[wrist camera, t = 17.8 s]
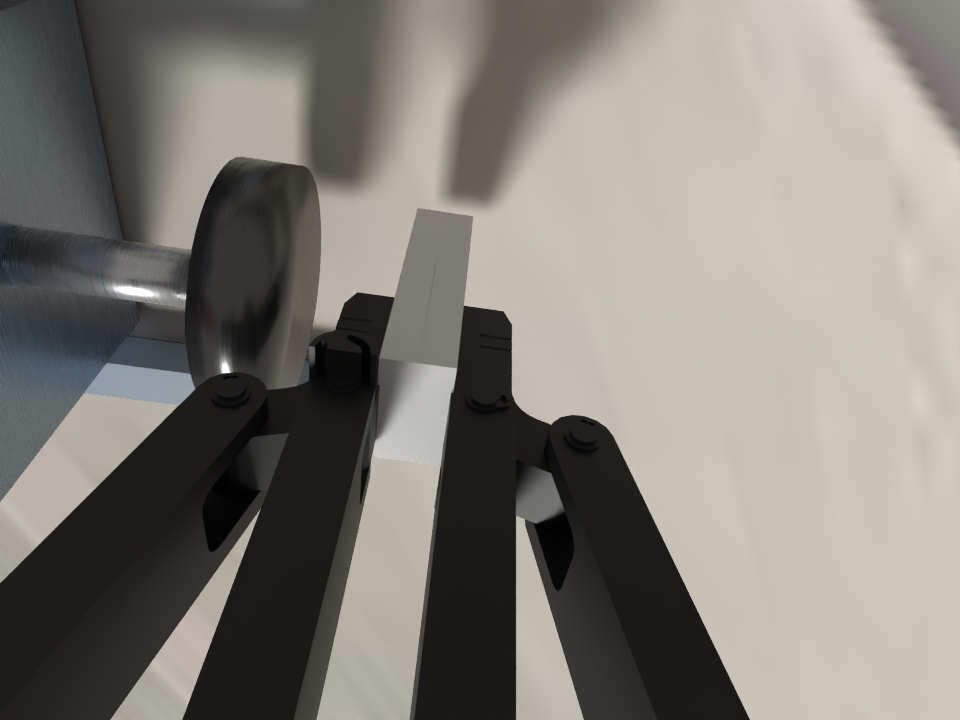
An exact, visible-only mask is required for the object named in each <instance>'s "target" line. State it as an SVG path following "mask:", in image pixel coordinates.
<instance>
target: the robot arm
mask: <svg viewBox="0 0 960 720" xmlns="http://www.w3.org/2000/svg"><path fill="white" fill-rule="evenodd" d="M472 223H473V216H467V215H460V214H453V213H447V212H440V211H433V210H426V209H420V208H418V209H417V213H416V217H415V221H414V225H413V228H412V232H411V236H410V240H409V244H408V248H407V252H406V256H405V260H404V263H403V267H402V271H401V275H400V279H399V283H398V287H397V291H396V295H395V298H394V297H387V296H380V295H372V294H365V293H358V292H357V293H356V294H355V295H354V296H353V297H351V298H350V299H349V300H348V301H347V302H345V303H344V306H343V309H342V312H341V314H340V319H339V320H338V323H337V326H336V330H335V331H332V332H328V333H324V334H322V335H320V336H318V337H316V338H315V339H314V340H313V341H312V342H311V344H310V345H309V381H307V382H305V383H303V384H300V385H297V386H294V387H288V388H281V389H270V390H267V389H266V386H265V384H264V383H263V382H262V381H261V380H260V379H259V378H257V377H255V376H253V375H251V374H247V373H240V372H230V373H222V374H219V375H216V376H213V377H210V378H209V379H207V380H206V381H204V382H203V383H201V384H200V385H199V386H198V387H197V388H196V389H195V390H194V391H193V392H192V393H191V394H190V395H189V396H188V397H187V398H186V399H185V400H184V401H183V402H182V403H181V404H180V405H179V406H178V407H177V408H176V409H175V410H174V411H173V412H172V413H171V414H170V415H169V416H168V417H167V418H166V419H165V420H164V421H163V422H162V423H161V424H160V425H159V426H158V427H157V428H156V429H155V430H154V431H153V432H152V433H151V434H150V435H149V436H148V437H147V438H146V439H145V440H144V441H143V442H142V443H141V444H140V445H139V446H138V447H137V448H136V449H135V450H134V451H133V452H132V453H131V454H130V455H129V456H128V457H127V458H126V459H125V460H124V461H123V462H122V463H121V464H120V465H119V466H118V467H117V468H116V469H115V470H114V471H113V472H112V473H111V474H110V475H109V476H108V477H107V478H106V479H105V480H104V481H103V482H102V483H101V484H100V485H99V486H98V487H97V488H96V489H95V490H94V491H93V492H92V493H91V494H90V495H89V496H88V497H87V498H86V499H84V500H83V501H82V502H81V503H80V504H79V505H78V506H77V507H76V508H75V509H74V510H73V511H72V512H71V513H70V514H69V515H68V516H67V517H66V518H65V519H64V520H63V521H62V522H61V523H60V524H59V525H58V526H57V527H56V528H55V529H54V530H53V531H52V532H51V533H50V534H49V535H48V536H47V537H46V538H45V539H44V540H43V541H42V542H41V543H40V544H39V545H38V546H37V547H36V548H35V549H34V550H33V551H32V552H31V553H30V554H29V555H28V556H27V557H26V558H25V559H24V560H23V561H22V562H21V563H20V564H19V565H18V566H17V567H16V568H15V569H14V570H13V571H12V572H11V573H10V574H9V575H8V576H7V577H6V578H5V579H4V580H3V581H2V582H1V583H0V720H110V719H111V718H112V716H113V715H114V714H115V712H116V711H117V709H118V708H119V707H120V705H121V704H122V702H123V701H124V700H125V698H126V697H127V695H128V694H129V693H130V691H131V690H132V688H133V687H134V686H135V684H136V683H137V681H138V680H139V678H140V677H141V676H142V674H143V673H144V671H145V670H146V669H147V667H148V666H149V664H150V663H151V662H152V660H153V659H154V657H155V656H156V655H157V653H158V652H159V650H160V649H161V648H162V646H163V645H164V643H165V642H166V641H167V639H168V638H169V636H170V635H171V634H172V632H173V631H174V629H175V628H176V627H177V625H178V624H179V622H180V621H181V620H182V618H183V617H184V615H185V614H186V613H187V611H188V610H189V608H190V607H191V606H192V604H193V603H194V601H195V600H196V599H197V597H198V596H199V594H200V593H201V592H202V590H203V589H204V587H205V586H206V584H207V583H208V582H209V580H210V579H211V577H212V576H213V575H214V573H215V572H216V570H217V569H218V568H219V566H220V565H221V563H222V562H223V561H224V559H225V558H226V556H227V555H228V554H229V552H230V551H231V549H232V548H233V547H234V545H235V544H236V542H237V541H238V540H239V538H240V537H241V535H242V534H243V533H244V531H245V530H246V528H247V527H248V526H249V524H250V523H251V521H252V520H253V519H254V517H255V516H256V514H257V513H258V512H259V510H260V509H261V510H260V513H259V515H258V518H257V521H256V523H255V526H254V529H253V531H252V534H251V537H250V539H249V542H248V545H247V548H246V550H245V553H244V556H243V558H242V561H241V564H240V566H239V569H238V572H237V574H236V577H235V580H234V583H233V585H232V588H231V591H230V593H229V596H228V599H227V601H226V604H225V607H224V609H223V612H222V615H221V618H220V620H219V623H218V626H217V628H216V631H215V634H214V636H213V639H212V642H211V644H210V647H209V650H208V653H207V655H206V658H205V661H204V663H203V666H202V669H201V671H200V674H199V677H198V679H197V682H196V685H195V687H194V690H193V693H192V696H191V698H190V701H189V704H188V706H187V709H186V712H185V714H184V717H183V720H316V719H317V714H318V710H319V705H320V701H321V696H322V692H323V687H324V683H325V678H326V673H327V669H328V664H329V660H330V655H331V651H332V646H333V642H334V637H335V633H336V628H337V624H338V619H339V614H340V610H341V605H342V601H343V596H344V592H345V587H346V583H347V578H348V574H349V569H350V565H351V560H352V555H353V551H354V546H355V542H356V537H357V533H358V528H359V524H360V519H361V515H362V510H363V506H364V501H365V496H366V492H367V487H368V483H369V478H370V467H371V457H372V453H373V457H377V458H385V459H393V460H401V461H409V462H416V463H424V464H432V465H440V466H441V468H440V474H439V481H438V487H437V494H436V501H435V507H434V508H435V513H434V522H433V530H432V538H431V547H430V555H429V563H428V571H427V580H426V588H425V596H424V605H423V613H422V621H421V630H420V638H419V646H418V655H417V663H416V671H415V680H414V688H413V696H412V705H411V713H410V720H516V516H519V517H521V518H524V519H525V526H526V529H527V532H528V536H529V539H530V542H531V546H532V549H533V552H534V556H535V559H536V562H537V566H538V569H539V572H540V575H541V579H542V582H543V585H544V589H545V592H546V595H547V599H548V602H549V605H550V609H551V612H552V615H553V618H554V622H555V625H556V628H557V632H558V635H559V638H560V642H561V645H562V648H563V652H564V655H565V658H566V662H567V665H568V668H569V671H570V675H571V678H572V681H573V685H574V688H575V691H576V695H577V698H578V701H579V705H580V708H581V711H582V714H583V718H584V720H750V719H749V717H748V715H747V713H746V711H745V709H744V707H743V705H742V702H741V700H740V698H739V696H738V694H737V692H736V690H735V688H734V686H733V684H732V682H731V680H730V678H729V675H728V673H727V671H726V669H725V667H724V665H723V663H722V661H721V659H720V657H719V655H718V653H717V651H716V649H715V646H714V644H713V642H712V640H711V638H710V636H709V634H708V632H707V630H706V628H705V626H704V624H703V622H702V619H701V617H700V615H699V613H698V611H697V609H696V607H695V605H694V603H693V601H692V599H691V597H690V595H689V592H688V590H687V588H686V586H685V584H684V582H683V580H682V578H681V576H680V574H679V572H678V570H677V568H676V566H675V563H674V561H673V559H672V557H671V555H670V553H669V551H668V549H667V547H666V545H665V543H664V541H663V539H662V536H661V534H660V532H659V530H658V528H657V526H656V524H655V522H654V520H653V518H652V516H651V514H650V512H649V510H648V507H647V505H646V503H645V501H644V499H643V497H642V495H641V493H640V491H639V489H638V487H637V485H636V483H635V480H634V478H633V476H632V474H631V472H630V470H629V468H628V466H627V464H626V462H625V460H624V458H623V456H622V454H621V451H620V449H619V447H618V445H617V443H616V441H615V439H614V437H613V436H612V434H611V433H610V432H609V430H608V429H607V428H606V427H605V426H603V425H602V424H600V423H599V422H598V421H596V420H593V419H590V418H588V417H585V416H576V415H570V416H565V417H561V418H559V419H558V420H556V421H555V422H553V424H552V425H550V424H548V423H545V422H542V421H540V420H537V419H535V418H533V417H531V416H529V415H528V414H526V413H525V412H524V411H522V410H521V409H520V408H519V407H518V405H517V404H516V403H515V401H514V397H513V396H512V352H511V351H512V341H511V340H512V324H511V323H510V321H509V320H508V318H507V316H506V315H505V313H504V312H503V311H497V310H490V309H483V308H476V307H468V306H464V298H465V289H466V279H467V270H468V260H469V251H470V242H471V232H472Z"/></svg>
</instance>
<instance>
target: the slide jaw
mask: <svg viewBox="0 0 960 720" xmlns="http://www.w3.org/2000/svg"><path fill="white" fill-rule="evenodd" d="M320 256H321V219H320V206H319V198H318V192H317V188H316V184H315V181H314V178H313V175H312V173H311V172H310V170H309V169H308V168H307V167H304V166H300V165H293V164H286V163H280V162H273V161H266V160H260V159H253V158H246V157H236V158H234V159H232V160H230V161H229V162H228V163H227V164H226V165H225V166H224V167H223V168H222V170H221V171H220V172H219V174H218V175H217V177H216V179H215V180H214V182H213V184H212V186H211V188H210V190H209V193H208V195H207V197H206V200H205V203H204V206H203V208H202V211H201V214H200V218H199V221H198V225H197V229H196V232H195V237H194V242H193V246H192V250H189V249H182V248H175V247H168V246H161V245H154V244H147V243H139V242H132V241H125V240H123V237H122V232H121V228H120V223H119V218H118V213H117V208H116V203H115V198H114V193H113V189H112V184H111V179H110V174H109V169H108V164H107V159H106V154H105V150H104V145H103V140H102V135H101V130H100V125H99V120H98V115H97V111H96V106H95V101H94V96H93V91H92V86H91V81H90V76H89V72H88V67H87V62H86V57H85V52H84V47H83V42H82V37H81V33H80V28H79V23H78V18H77V13H76V8H75V3H74V0H0V502H1V500H2V499H3V498H4V497H5V495H6V494H7V493H8V491H9V490H10V489H11V487H12V486H13V485H14V483H15V482H16V481H17V480H18V478H19V477H20V476H21V474H22V473H23V472H24V470H25V469H26V468H27V467H28V465H29V464H30V463H31V461H32V460H33V459H34V457H35V456H36V455H37V453H38V452H39V451H40V450H41V448H42V447H43V446H44V444H45V443H46V442H47V440H48V439H49V438H50V437H51V435H52V434H53V433H54V431H55V430H56V429H57V427H58V426H59V425H60V424H61V422H62V421H63V420H64V418H65V417H66V416H67V414H68V413H69V412H70V410H71V409H72V408H73V407H74V405H75V404H76V403H77V401H78V400H79V399H80V397H81V396H82V395H83V394H84V392H85V391H86V390H87V388H88V387H89V386H90V384H91V383H92V382H93V380H94V379H95V378H96V377H97V375H98V374H99V373H100V371H101V370H102V369H103V367H104V366H105V365H106V364H107V362H108V361H109V360H110V358H111V357H112V356H113V354H114V353H115V352H116V351H117V349H118V348H119V347H120V345H121V344H122V343H123V341H124V340H125V339H126V337H127V336H128V335H129V334H130V332H131V331H132V330H133V328H134V327H135V326H136V324H137V323H138V322H139V321H140V320H139V315H138V310H137V306H136V301H138V302H145V303H152V304H160V305H167V306H174V307H182V308H185V335H186V349H187V358H188V364H189V369H190V374H191V378H192V381H193V385H194V388H195V389H196V388H197V387H198V386H199V385H200V384H201V383H203V382H204V381H206V380H207V379H209V378H210V377H213V376H216V375H219V374H222V373H230V372H240V373H247V374H251V375H253V376H255V377H257V378H259V379H260V380H261V381H262V382H263V383H264V384H265V386H266V389H267V390H270V389H281V388H288V387H294V386H297V384H298V382H299V379H300V376H301V373H302V369H303V366H304V362H305V359H306V355H307V351H308V347H309V342H310V337H311V332H312V327H313V321H314V315H315V309H316V302H317V293H318V284H319V273H320Z"/></svg>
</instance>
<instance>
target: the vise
mask: <svg viewBox="0 0 960 720" xmlns="http://www.w3.org/2000/svg"><path fill="white" fill-rule="evenodd" d="M307 381H309V360H305V362H304V366H303V369H302V373H301V376H300V379H299V382H298V384H297V385H300V384H303V383H305V382H307ZM194 390H195V388H194V385H193V381H192V378H191V374H190V369H189V364H188V358H187V349H186V344H182V343H174V342H167V341H159V340H152V339H144V338H137V337H129V336H127V337H126V339H125V340H124V341H123V343H122V344H121V345H120V347H119V348H118V349H117V351H116V352H115V353H114V354H113V356H112V357H111V358H110V360H109V361H108V362H107V364H106V365H105V366H104V367H103V369H102V370H101V371H100V373H99V374H98V375H97V377H96V378H95V379H94V380H93V382H92V383H91V384H90V386H89V387H88V388H87V390H86V391H85V392H84V393H88V394H96V395H104V396H112V397H120V398H128V399H135V400H143V401H151V402H159V403H167V404H175V405H180V404H181V403H182V402H183V401H184V400H185V399H186V398H187V397H188V396H189V395H190V394H191V393H192V392H193V391H194Z"/></svg>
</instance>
